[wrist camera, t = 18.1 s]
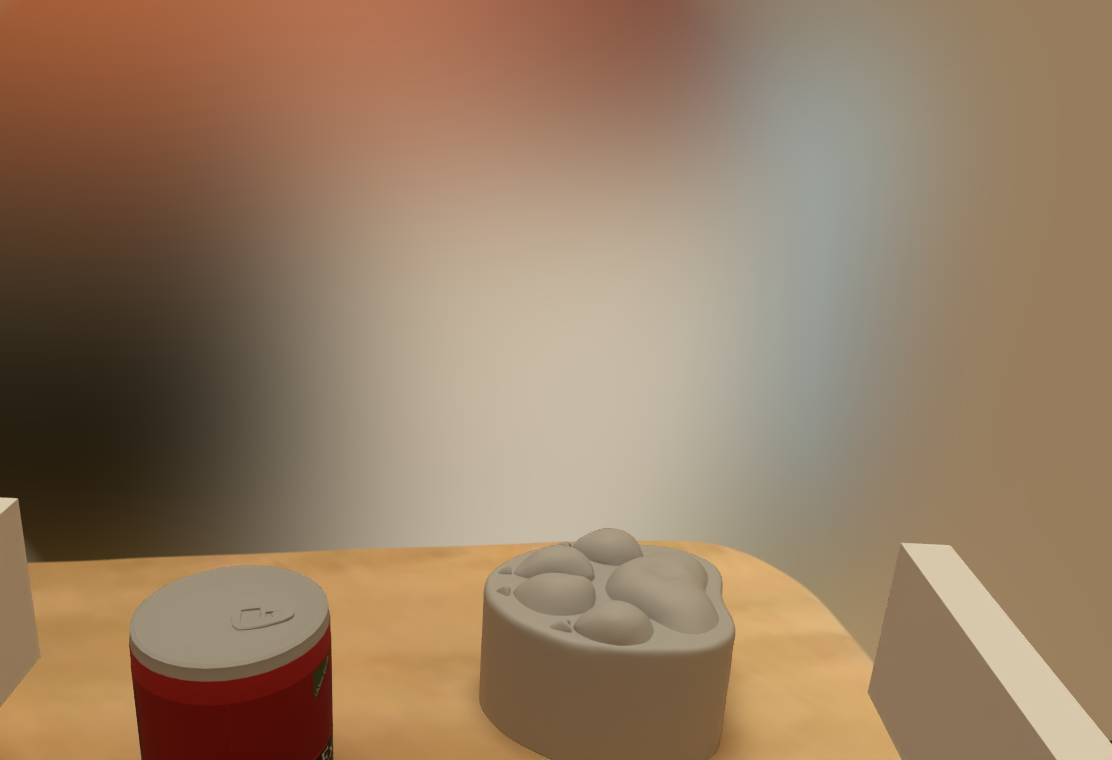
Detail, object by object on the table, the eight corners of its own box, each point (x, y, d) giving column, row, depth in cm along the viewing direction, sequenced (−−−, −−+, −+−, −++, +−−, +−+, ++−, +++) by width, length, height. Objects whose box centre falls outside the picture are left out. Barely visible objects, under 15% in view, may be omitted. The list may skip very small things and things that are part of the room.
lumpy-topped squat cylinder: (727, 777, 47) (750, 630, 44) (470, 761, 47) (475, 614, 44) (701, 651, 57) (717, 525, 54) (487, 638, 57) (492, 511, 54)
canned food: (356, 844, 42) (354, 635, 38) (166, 916, 38) (142, 691, 34) (307, 737, 48) (300, 548, 44) (138, 789, 44) (115, 586, 40)
